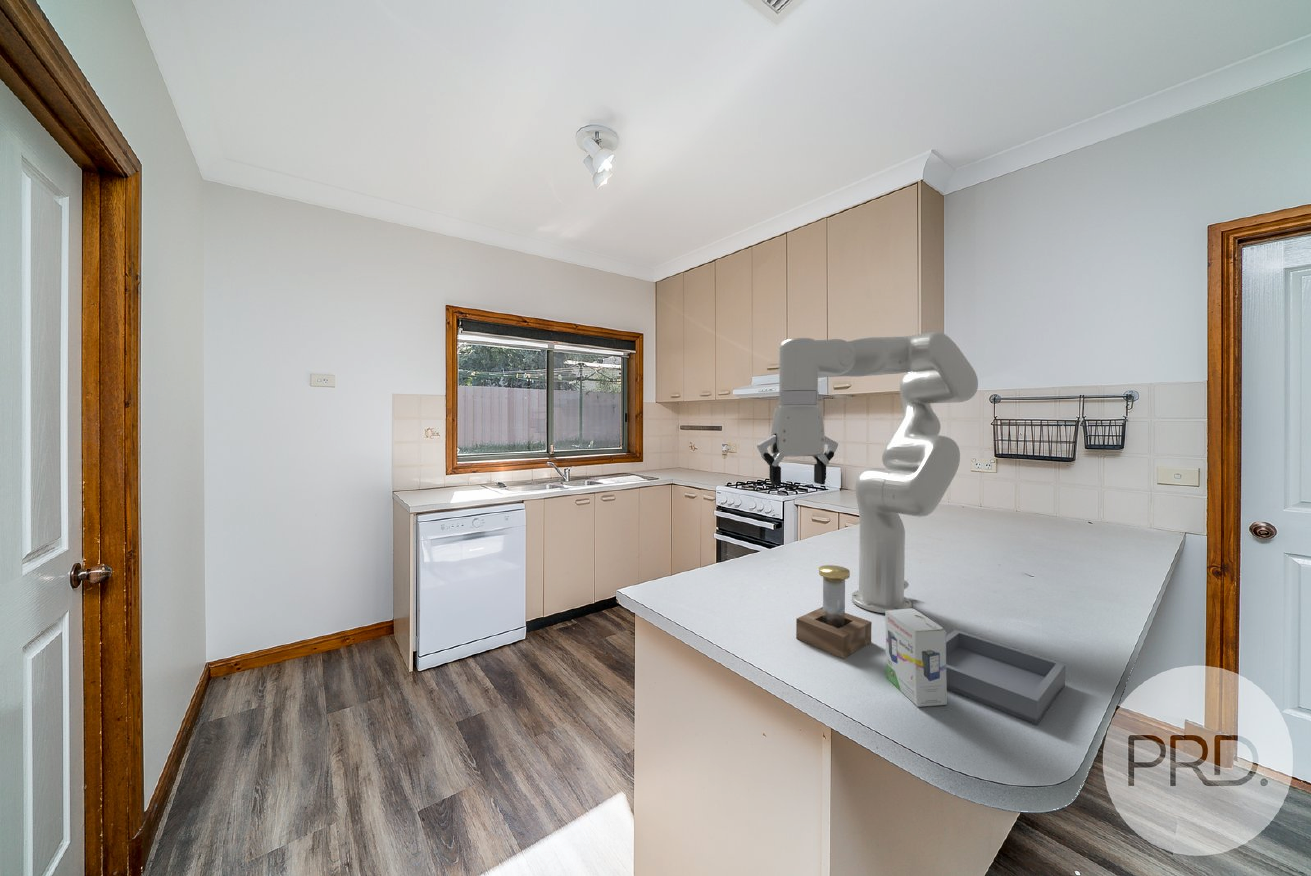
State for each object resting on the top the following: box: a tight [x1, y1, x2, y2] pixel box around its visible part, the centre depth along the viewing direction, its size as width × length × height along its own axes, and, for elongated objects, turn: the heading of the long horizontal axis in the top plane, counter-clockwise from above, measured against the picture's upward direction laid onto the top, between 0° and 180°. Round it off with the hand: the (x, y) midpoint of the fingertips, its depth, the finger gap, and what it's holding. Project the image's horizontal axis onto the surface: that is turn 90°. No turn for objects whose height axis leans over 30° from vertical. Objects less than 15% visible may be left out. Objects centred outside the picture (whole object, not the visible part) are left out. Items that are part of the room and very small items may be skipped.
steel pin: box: [818, 564, 851, 628], centre depth 92 cm, size 6×6×14 cm
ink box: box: [884, 608, 948, 708], centre depth 75 cm, size 9×5×12 cm, turn 5°
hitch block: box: [795, 606, 872, 659], centre depth 92 cm, size 10×10×4 cm
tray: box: [946, 629, 1067, 726], centre depth 78 cm, size 16×16×4 cm
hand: (797, 484), depth 97 cm, fingers open, 9 cm apart
